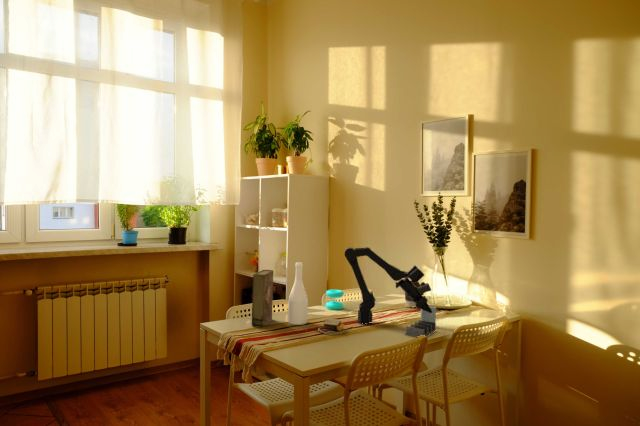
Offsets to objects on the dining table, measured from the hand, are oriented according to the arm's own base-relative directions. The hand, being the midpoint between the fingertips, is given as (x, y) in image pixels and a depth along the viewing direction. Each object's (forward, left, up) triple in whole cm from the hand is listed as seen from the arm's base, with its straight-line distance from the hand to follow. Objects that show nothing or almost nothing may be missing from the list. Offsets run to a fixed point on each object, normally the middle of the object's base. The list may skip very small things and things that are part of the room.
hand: (431, 311), depth 253 cm
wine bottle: (-61, +25, -7) cm, 67 cm away
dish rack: (-12, -9, -7) cm, 17 cm away
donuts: (-29, +50, -7) cm, 59 cm away
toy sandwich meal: (-52, +6, -8) cm, 53 cm away
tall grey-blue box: (-1, +1, -7) cm, 7 cm away
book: (-78, +31, -7) cm, 84 cm away
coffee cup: (+16, +40, -7) cm, 44 cm away
